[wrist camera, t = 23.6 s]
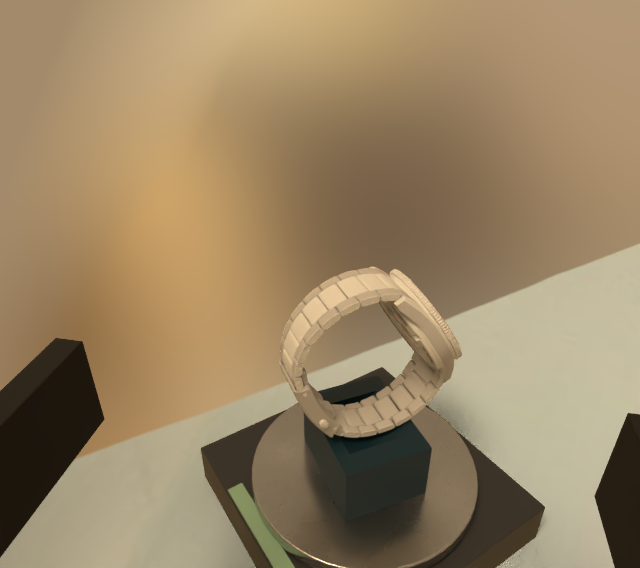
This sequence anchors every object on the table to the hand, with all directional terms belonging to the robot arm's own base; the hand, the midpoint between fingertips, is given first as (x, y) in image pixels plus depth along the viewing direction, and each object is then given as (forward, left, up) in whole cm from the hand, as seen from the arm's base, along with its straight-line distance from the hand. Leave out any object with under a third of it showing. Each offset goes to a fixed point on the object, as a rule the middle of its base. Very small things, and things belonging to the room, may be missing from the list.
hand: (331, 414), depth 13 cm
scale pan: (-2, +9, -13) cm, 17 cm away
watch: (-2, +9, -13) cm, 16 cm away
